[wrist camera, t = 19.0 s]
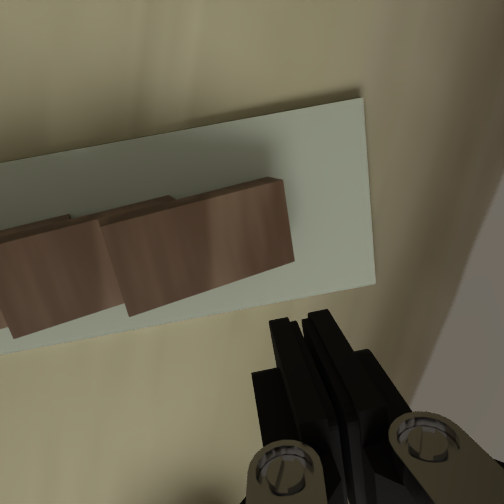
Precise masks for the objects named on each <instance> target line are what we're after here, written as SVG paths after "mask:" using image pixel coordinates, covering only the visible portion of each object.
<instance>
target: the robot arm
mask: <svg viewBox="0 0 504 504" xmlns="http://www.w3.org/2000/svg"><path fill="white" fill-rule="evenodd" d="M269 326H270V332H271V338H272V343H273V349H274V355H275V360H276V366H277V368H272V369H268V370H263V371H258V372H253V373H251V374H252V380H253V387H254V393H255V399H256V405H257V411H258V418H259V424H260V430H261V436H262V442H263V448H262V449H260V450H259V451H258V452H257V453H256V454H255V455H254V457H253V459H252V460H251V462H250V465H249V469H248V474H247V489H246V497H245V498H244V499H243V501H242V502H241V503H240V504H348V500H349V503H350V504H504V463H503V462H500V461H498V460H495V459H493V458H492V457H491V456H489V454H488V453H486V451H484V450H483V449H482V448H481V447H480V446H479V445H478V444H477V443H476V442H475V441H474V440H473V439H472V438H471V437H470V436H469V435H468V434H467V433H466V432H465V431H464V430H462V429H461V428H460V427H459V426H458V425H457V424H455V423H454V422H452V421H451V420H450V419H448V418H446V417H443V416H441V415H439V414H435V413H431V412H419V411H418V412H417V411H415V412H412V410H411V409H410V408H409V406H408V405H407V403H406V402H405V400H404V399H403V397H402V396H401V394H400V393H399V392H398V390H397V389H396V387H395V386H394V384H393V383H392V381H391V380H390V378H389V377H388V376H387V374H386V373H385V371H384V370H383V368H382V367H381V365H380V364H379V362H378V361H377V359H376V358H375V357H374V355H373V354H372V352H371V351H370V350H369V349H364V350H359V351H353V349H352V348H351V346H350V344H349V343H348V341H347V340H346V338H345V336H344V335H343V333H342V331H341V330H340V328H339V326H338V325H337V323H336V322H335V320H334V318H333V317H332V315H331V313H330V312H329V310H328V309H325V310H320V311H315V312H310V313H308V318H306V319H302V327H303V334H304V337H303V335H302V332H301V330H300V328H299V325H298V323H297V321H292V322H290V321H289V319H288V317H285V318H280V319H275V320H271V321H269ZM347 498H348V500H347Z"/></svg>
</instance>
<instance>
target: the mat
mask: <svg viewBox="0 0 504 504" xmlns="http://www.w3.org/2000/svg"><path fill="white" fill-rule="evenodd" d="M264 177H272V178H277V179H282V180H283V183H284V190H285V197H286V203H287V210H288V217H289V224H290V231H291V238H292V245H293V252H294V258H295V262H292V263H289V264H286V265H283V266H280V267H277V268H274V269H271V270H268V271H265V272H262V273H259V274H256V275H253V276H250V277H247V278H244V279H241V280H238V281H235V282H232V283H229V284H226V285H223V286H221V287H218V288H215V289H212V290H209V291H206V292H203V293H200V294H197V295H194V296H191V297H188V298H185V299H182V300H179V301H176V302H173V303H170V304H167V305H164V306H161V307H158V308H155V309H152V310H149V311H146V312H144V313H141V314H138V315H135V316H132V317H129V316H128V313H127V310H126V306H125V303H124V304H121V305H118V306H115V307H112V308H108V309H105V310H102V311H99V312H96V313H93V314H90V315H87V316H84V317H81V318H78V319H75V320H72V321H69V322H65V323H62V324H59V325H56V326H53V327H50V328H47V329H44V330H41V331H38V332H35V333H32V334H29V335H26V336H22V337H19V338H16V339H13V337H12V335H11V332H10V330H9V328H8V327H6V328H3V329H0V355H2V354H8V353H13V352H18V351H24V350H29V349H34V348H39V347H45V346H50V345H55V344H61V343H66V342H71V341H77V340H82V339H87V338H92V337H98V336H103V335H108V334H114V333H119V332H124V331H129V330H135V329H140V328H145V327H151V326H156V325H161V324H166V323H172V322H177V321H182V320H188V319H193V318H198V317H203V316H209V315H214V314H219V313H225V312H230V311H235V310H240V309H246V308H251V307H256V306H262V305H267V304H272V303H277V302H283V301H288V300H293V299H299V298H304V297H309V296H314V295H320V294H325V293H330V292H336V291H341V290H346V289H351V288H357V287H362V286H367V285H373V284H376V279H375V265H374V250H373V236H372V221H371V206H370V192H369V177H368V162H367V148H366V133H365V119H364V104H363V98H356V99H350V100H345V101H339V102H334V103H328V104H323V105H317V106H312V107H306V108H301V109H295V110H290V111H284V112H279V113H273V114H268V115H262V116H257V117H251V118H246V119H240V120H235V121H229V122H224V123H218V124H212V125H207V126H201V127H196V128H190V129H185V130H179V131H174V132H168V133H163V134H157V135H152V136H146V137H141V138H135V139H130V140H124V141H119V142H113V143H108V144H102V145H97V146H91V147H86V148H80V149H75V150H69V151H64V152H58V153H53V154H47V155H41V156H36V157H30V158H25V159H19V160H14V161H8V162H3V163H0V230H4V229H8V228H12V227H17V226H21V225H25V224H29V223H33V222H37V221H41V220H45V219H50V218H54V217H58V216H62V215H66V214H69V215H70V218H71V219H73V218H77V217H81V216H85V215H89V214H94V213H98V212H102V211H106V210H110V209H114V208H118V207H122V206H126V205H130V204H134V203H138V202H142V201H146V200H150V199H154V198H158V197H162V196H166V195H170V196H171V197H173V198H175V199H176V200H177V199H181V198H185V197H189V196H193V195H197V194H201V193H205V192H209V191H213V190H217V189H221V188H225V187H229V186H233V185H236V184H240V183H244V182H248V181H252V180H256V179H260V178H264Z"/></svg>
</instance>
